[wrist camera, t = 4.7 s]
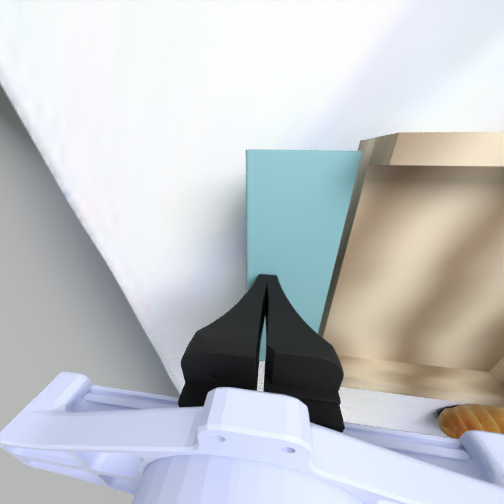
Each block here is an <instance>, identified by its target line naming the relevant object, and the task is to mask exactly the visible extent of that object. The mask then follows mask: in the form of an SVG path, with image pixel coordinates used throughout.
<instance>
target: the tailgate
mask: <svg viewBox="0 0 504 504" xmlns="http://www.w3.org/2000/svg"><path fill="white" fill-rule="evenodd" d="M361 154H362V151H318V150H246V263H247V292H248V291H249V289H250V288H251V286H252V285H253V283H254V282H255V280H256V278H257V276H258V275H259V274H269V275H277V276H278V280H279V283H280V285H281V287H282V289H283V291H284V293H285V295H286V297H287V298H288V300H289V302H290V303H291V305H292V306H293V308H294V309H295V310H296V312H297V313H298V314H299V315H300V317H301V318H302V319H303V320H304V321H305V322H306V323H307V324H308V325H309V326H310V327H311V328H312V329H313V330H314V331H315V332H316V333H317V334H318V331H319V327H320V322H321V318H322V314H323V310H324V306H325V302H326V298H327V294H328V290H329V285H330V281H331V277H332V273H333V269H334V265H335V261H336V257H337V253H338V248H339V244H340V240H341V236H342V232H343V228H344V224H345V220H346V216H347V212H348V207H349V203H350V199H351V195H352V191H353V187H354V183H355V179H356V175H357V170H358V166H359V162H360V158H361ZM265 358H266V319H265V320H264V326H263V331H262V337H261V344H260V355H259V361H265Z"/></svg>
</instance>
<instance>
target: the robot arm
mask: <svg viewBox="0 0 504 504" xmlns="http://www.w3.org/2000/svg"><path fill="white" fill-rule="evenodd" d="M265 319H266V358H265V375H264V392H261V391H257V380H258V368H259V355H260V344H261V337H262V331H263V326H264V320H265ZM181 367H182V371H183V375H184V379H185V382H186V383H185V385H184V388H183V390H182V393H181V395H180V398H177V397H171V396H164V395H157V394H150V393H143V392H137V391H129V390H123V389H116V388H109V387H103V386H96V385H93V383H92V381H91V379H90V378H89V377H88V376H86V375H83V374H79V373H71V372H65V371H64V372H61V373H60V374H59V375H58V376H57V377H56V378H55V379H54V380H53V381H52V382H51V383H50V384H49V385H47V386H46V387H45V388H44V389H43V390H42V391H41V393H39V395H37V396H36V397H35V398H34V400H32V401H31V402H30V403H29V404H28V405H27V406H26V407H25V408H24V409H23V410H22V411H21V412H20V413H19V414H18V415H17V416H16V417H15V418H14V419H13V420H12V421H11V422H10V423H9V424H8V425H7V426H6V427H5V428H4V429H3V430H2V431H1V432H0V447H1V448H3V449H4V450H6V451H7V452H8V453H10V454H11V455H13V456H14V457H16V458H17V459H19V460H20V461H22V462H23V463H24V464H26V465H27V466H29V467H33V468H37V469H42V470H47V471H51V472H55V473H59V474H63V475H67V476H71V477H74V478H77V479H81V480H85V481H88V482H91V483H95V484H99V485H102V486H105V487H108V488H112V489H115V490H119V491H122V492H126V493H129V494H132V495H135V497H134V499H133V502H132V504H504V434H501V433H494V432H487V431H480V430H471V431H467V432H465V433H464V434H462V436H461V437H460V439H455V438H448V437H441V436H434V435H428V434H421V433H414V432H407V431H401V430H394V429H387V428H380V427H374V426H367V425H360V424H353V423H347V422H343V418H342V414H341V410H340V406H339V405H340V403H341V402H340V397H339V393H338V391H339V388H340V386H341V383H342V381H343V377H344V372H343V368H342V365H341V362H340V360H339V358H338V355H337V353H336V351H335V349H334V347H333V346H332V345H331V344H330V343H329V342H327V341H326V340H325V339H323V338H322V337H321V336H320V335H318V334H317V333H316V332H315V331H314V330H313V329H312V328H311V327H310V326H309V325H308V324H307V323H306V322H305V321H304V320H303V319H302V318H301V317H300V315H299V314H298V313H297V312H296V310H295V309H294V308H293V306H292V305H291V303H290V302H289V300H288V298H287V297H286V295H285V293H284V291H283V289H282V287H281V285H280V283H279V280H278V276H277V275H269V274H259V275H258V276H257V278H256V280H255V282H254V283H253V285H252V286H251V288H250V289H249V291H248V292H247V293H246V294H245V295H244V297H243V298H242V299H241V300H240V301H239V302H238V303H237V304H236V305H235V306H234V307H233V308H232V309H231V310H229V311H228V312H227V313H226V314H225V315H223V316H222V317H220V318H219V319H217V320H216V321H215V322H213V323H211V324H210V325H208V326H206V327H204V328H202V329H200V330H198V331H197V332H196V333H195V335H194V337H193V338H192V340H191V341H190V343H189V345H188V347H187V349H186V351H185V353H184V355H183V357H182V360H181Z"/></svg>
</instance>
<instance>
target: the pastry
mask: <svg viewBox="0 0 504 504" xmlns="http://www.w3.org/2000/svg"><path fill="white" fill-rule="evenodd" d="M438 422H439V425H440V429H441V430H442V431H443V432H444V433H445V434H446V435H447V436H449V437H450V438H455V439H460V437H461V436H462V434H464V433H465V432H467V431H471V430H480V431H487V432H494V433H501V434H504V408H501V407H494V406H486V405H478V404H465V405H457V406H455V407H453V408H445V409H444V410H443V411H442V412H441V413H440V416H439V417H438Z"/></svg>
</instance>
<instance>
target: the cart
mask: <svg viewBox="0 0 504 504" xmlns="http://www.w3.org/2000/svg"><path fill="white" fill-rule="evenodd" d="M358 151H362V154H361V158H360V162H359V166H358V170H357V175H356V179H355V183H354V187H353V191H352V195H351V199H350V203H349V207H348V212H347V216H346V220H345V224H344V228H343V232H342V236H341V240H340V244H339V248H338V253H337V257H336V261H335V265H334V269H333V273H332V277H331V281H330V285H329V290H328V294H327V298H326V302H325V306H324V310H323V314H322V318H321V322H320V327H319V331H318V335H320V336H321V337H322V338H323V339H325V340H326V341H327V342H329V343H330V344H331V345H332V346H333V347H334V349H335V351H336V353H337V355H338V358H339V360H340V362H341V365H342V368H343V372H344V377H343V381H342V383H341V386H340V387H348V388H356V389H363V390H371V391H379V392H386V393H394V394H402V395H409V396H417V397H425V398H432V399H440V400H448V401H455V402H463V403H471V404H478V405H486V406H494V407H501V408H504V132H426V133H395V134H390V135H386V136H381V137H376V138H372V139H367V140H362V141H360V144H359V148H358Z"/></svg>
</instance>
